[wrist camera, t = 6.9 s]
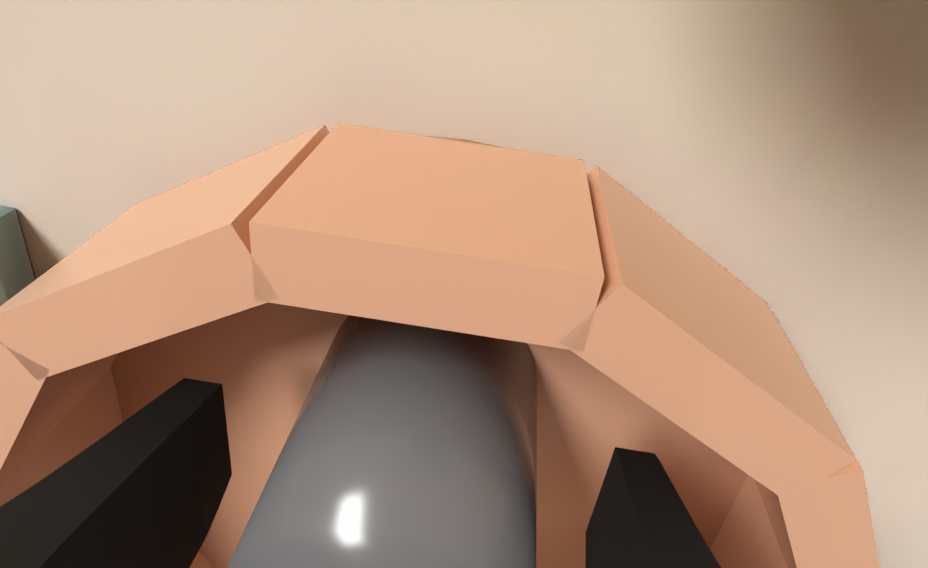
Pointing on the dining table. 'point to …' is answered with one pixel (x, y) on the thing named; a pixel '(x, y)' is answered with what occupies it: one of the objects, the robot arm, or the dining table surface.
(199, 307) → the terracotta bowl
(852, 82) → the dining table surface
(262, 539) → the charcoal pebble
